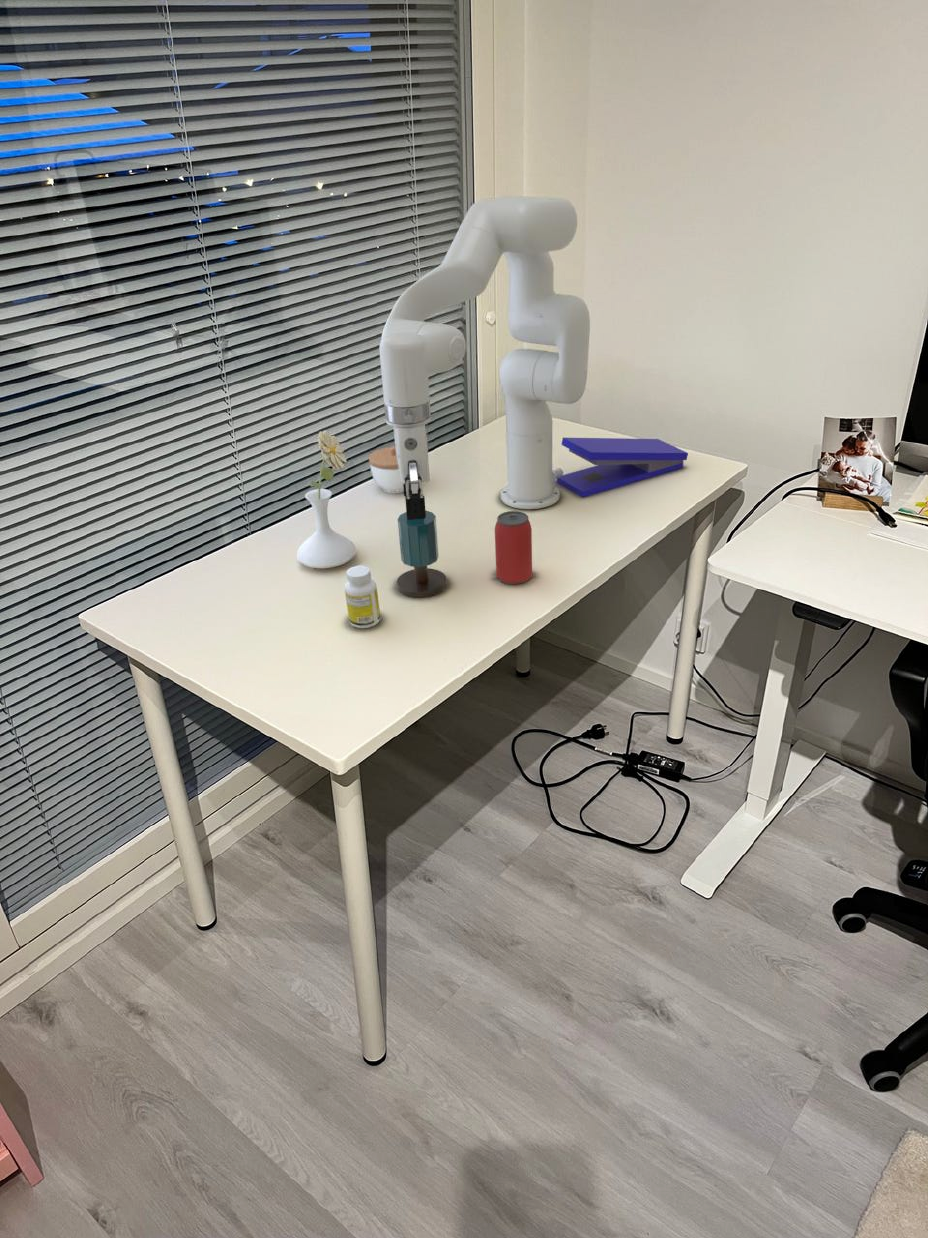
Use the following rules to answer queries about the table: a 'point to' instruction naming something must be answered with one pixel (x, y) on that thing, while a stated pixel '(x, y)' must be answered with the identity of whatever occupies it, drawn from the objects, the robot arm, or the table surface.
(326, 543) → the flower in vase
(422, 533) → the teal wooden cylinder
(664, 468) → the stapler
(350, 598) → the supplement bottle
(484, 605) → the table surface
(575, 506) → the table surface
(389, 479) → the trinket box
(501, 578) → the beer can
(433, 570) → the holder
